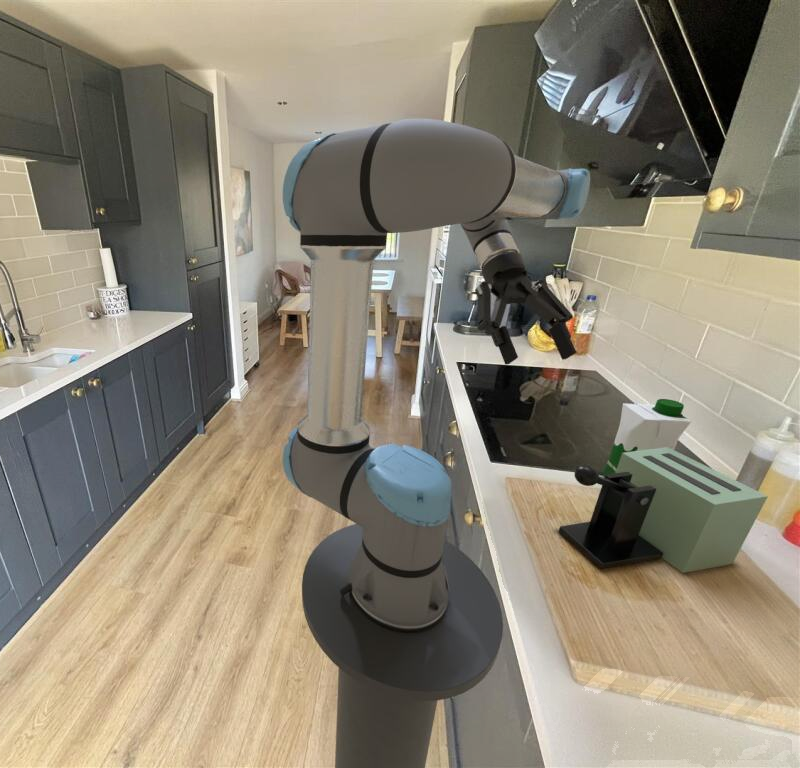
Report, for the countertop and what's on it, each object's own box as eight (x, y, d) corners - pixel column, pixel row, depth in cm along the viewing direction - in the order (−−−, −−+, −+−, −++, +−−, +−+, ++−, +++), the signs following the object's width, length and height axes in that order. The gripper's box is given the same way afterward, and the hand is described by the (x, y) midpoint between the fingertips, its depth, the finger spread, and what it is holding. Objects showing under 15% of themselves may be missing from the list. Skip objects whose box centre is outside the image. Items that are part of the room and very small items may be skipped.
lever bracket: (600, 570, 66) (624, 503, 61) (558, 532, 74) (576, 470, 69) (661, 559, 68) (689, 493, 63) (613, 523, 76) (635, 462, 71)
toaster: (682, 573, 65) (715, 503, 60) (601, 512, 79) (622, 451, 74) (732, 564, 67) (768, 495, 61) (644, 506, 80) (667, 446, 75)
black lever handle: (582, 487, 62) (594, 470, 61) (565, 475, 65) (577, 459, 64) (635, 505, 66) (648, 490, 65) (617, 493, 69) (629, 479, 68)
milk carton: (666, 499, 82) (701, 413, 75) (617, 495, 84) (647, 410, 76) (639, 474, 90) (668, 394, 83) (594, 471, 92) (619, 392, 84)
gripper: (539, 272, 85) (581, 362, 77) (438, 277, 82) (470, 372, 74) (565, 247, 79) (614, 344, 70) (455, 252, 75) (493, 353, 67)
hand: (540, 358), depth 72 cm, fingers open, 11 cm apart
